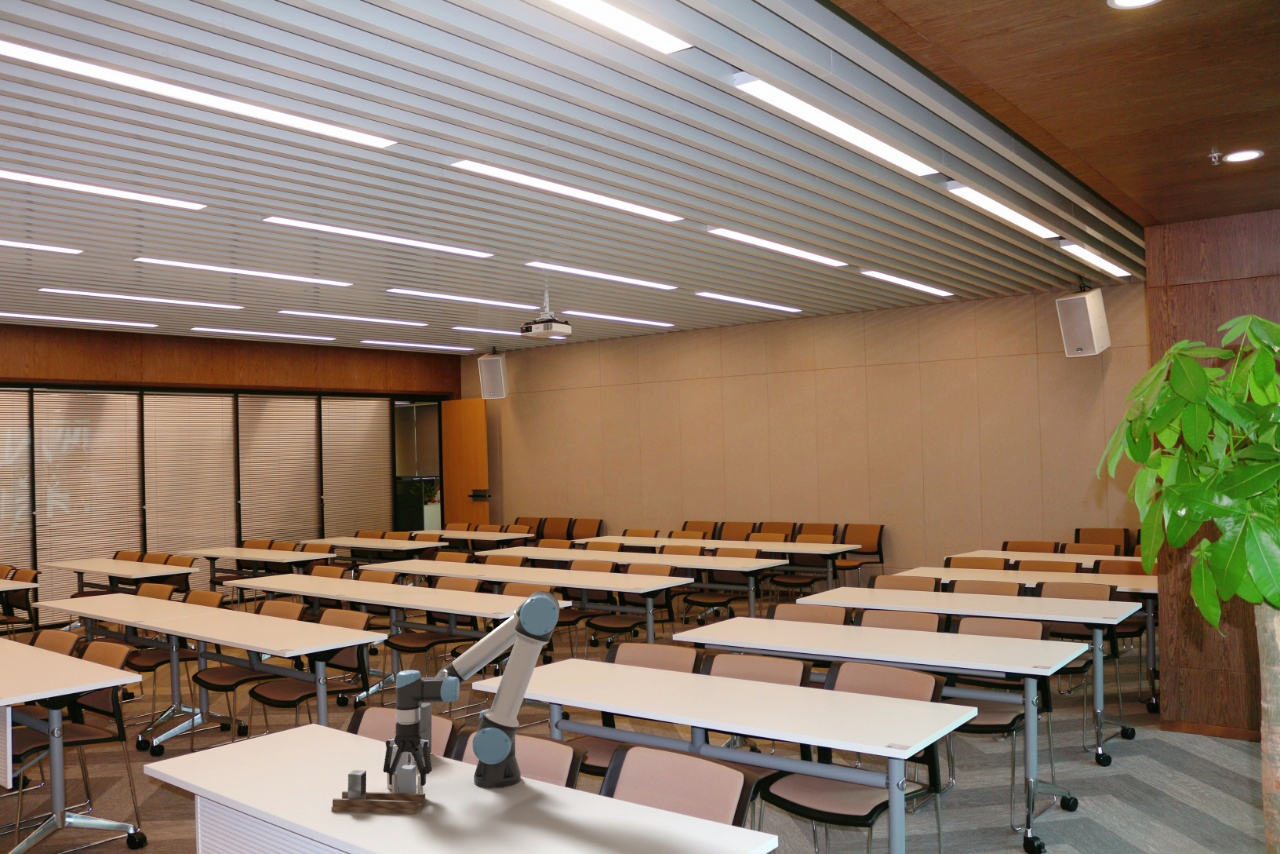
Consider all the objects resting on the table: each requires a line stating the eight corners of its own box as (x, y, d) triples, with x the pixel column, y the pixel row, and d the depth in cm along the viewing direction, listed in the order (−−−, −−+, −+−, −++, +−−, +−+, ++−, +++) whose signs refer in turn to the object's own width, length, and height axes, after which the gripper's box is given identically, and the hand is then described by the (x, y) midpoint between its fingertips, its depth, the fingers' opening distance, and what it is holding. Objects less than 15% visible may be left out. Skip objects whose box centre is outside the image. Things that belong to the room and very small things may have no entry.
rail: (425, 803, 291) (426, 769, 291) (415, 814, 282) (415, 779, 282) (344, 800, 294) (344, 767, 294) (331, 811, 285) (331, 776, 285)
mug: (394, 791, 303) (395, 752, 303) (382, 786, 307) (382, 748, 307) (420, 782, 310) (420, 745, 311) (407, 778, 315) (407, 742, 315)
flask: (407, 763, 331) (408, 705, 332) (395, 761, 334) (395, 703, 335) (436, 752, 344) (436, 696, 345) (423, 750, 347) (423, 695, 348)
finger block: (416, 794, 299) (416, 765, 300) (411, 798, 295) (411, 769, 296) (403, 794, 300) (403, 764, 300) (398, 798, 296) (399, 768, 296)
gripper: (443, 719, 301) (443, 792, 300) (381, 717, 304) (380, 790, 302) (435, 725, 294) (435, 800, 293) (371, 723, 296) (371, 798, 295)
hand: (407, 795), depth 298 cm, fingers open, 8 cm apart
